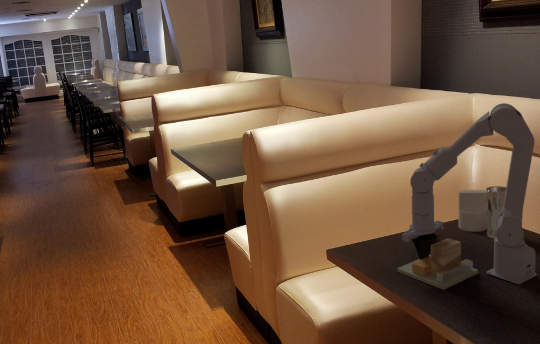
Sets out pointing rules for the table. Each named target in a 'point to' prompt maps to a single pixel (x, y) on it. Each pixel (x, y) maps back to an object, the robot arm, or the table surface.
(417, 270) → the block
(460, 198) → the white upright cylinder
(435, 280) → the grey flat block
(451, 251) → the maple block
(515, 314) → the table surface
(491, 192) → the beer glass
